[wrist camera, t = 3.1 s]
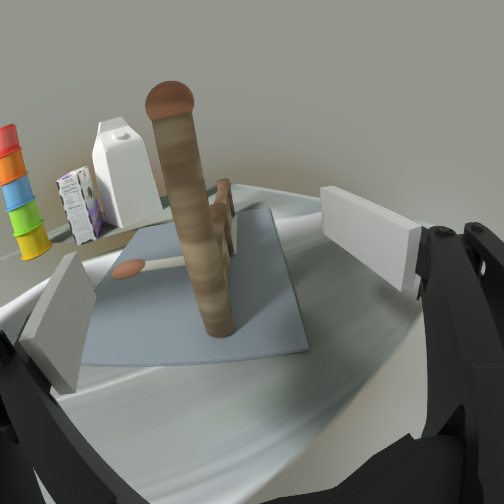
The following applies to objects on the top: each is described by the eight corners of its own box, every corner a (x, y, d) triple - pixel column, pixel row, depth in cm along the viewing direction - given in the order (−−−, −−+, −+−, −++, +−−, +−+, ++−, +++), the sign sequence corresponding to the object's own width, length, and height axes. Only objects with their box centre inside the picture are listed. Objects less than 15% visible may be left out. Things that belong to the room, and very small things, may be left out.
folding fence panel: (212, 260, 40) (180, 97, 30) (238, 256, 40) (209, 91, 30) (201, 341, 26) (134, 86, 16) (238, 337, 26) (185, 72, 16)
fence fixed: (217, 257, 41) (207, 210, 37) (223, 214, 56) (216, 180, 53) (233, 254, 41) (224, 207, 37) (235, 213, 56) (229, 178, 53)
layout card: (55, 363, 25) (53, 360, 25) (139, 230, 59) (139, 228, 58) (308, 350, 24) (309, 346, 24) (268, 209, 58) (268, 206, 58)
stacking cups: (56, 239, 65) (24, 122, 49) (48, 253, 57) (11, 120, 41) (28, 250, 62) (-5, 137, 46) (18, 265, 54) (-21, 138, 38)
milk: (142, 205, 77) (122, 118, 65) (163, 209, 70) (141, 110, 58) (106, 222, 69) (82, 129, 57) (123, 228, 62) (95, 121, 50)
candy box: (86, 228, 69) (69, 171, 61) (104, 221, 70) (88, 164, 63) (76, 247, 57) (54, 180, 49) (98, 239, 58) (77, 171, 51)
